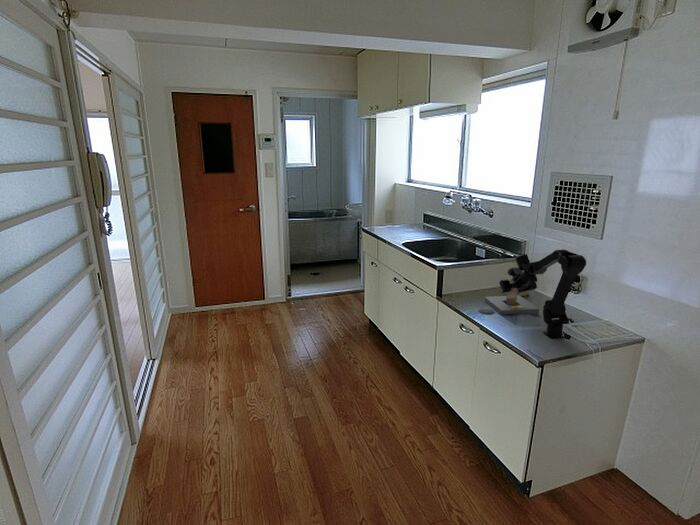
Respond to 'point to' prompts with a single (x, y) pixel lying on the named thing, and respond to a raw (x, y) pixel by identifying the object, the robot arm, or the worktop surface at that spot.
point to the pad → (486, 311)
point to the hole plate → (503, 308)
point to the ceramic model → (517, 290)
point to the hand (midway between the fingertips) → (510, 291)
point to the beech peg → (511, 297)
